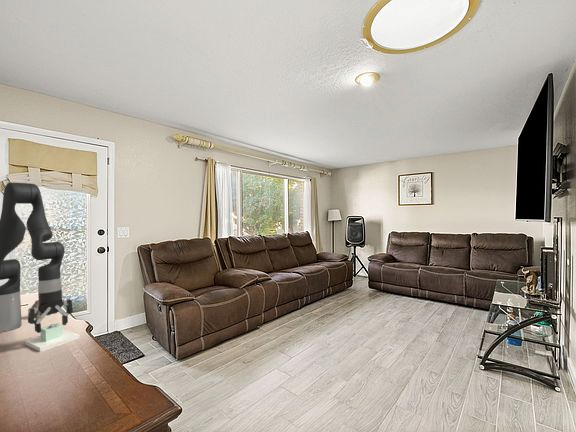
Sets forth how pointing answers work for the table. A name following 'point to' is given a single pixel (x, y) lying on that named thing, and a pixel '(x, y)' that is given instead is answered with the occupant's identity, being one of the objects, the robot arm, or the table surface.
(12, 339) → the table surface
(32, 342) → the plate
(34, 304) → the vase
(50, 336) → the collar
